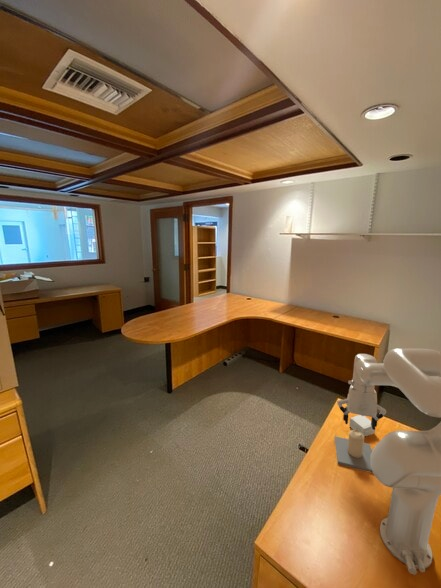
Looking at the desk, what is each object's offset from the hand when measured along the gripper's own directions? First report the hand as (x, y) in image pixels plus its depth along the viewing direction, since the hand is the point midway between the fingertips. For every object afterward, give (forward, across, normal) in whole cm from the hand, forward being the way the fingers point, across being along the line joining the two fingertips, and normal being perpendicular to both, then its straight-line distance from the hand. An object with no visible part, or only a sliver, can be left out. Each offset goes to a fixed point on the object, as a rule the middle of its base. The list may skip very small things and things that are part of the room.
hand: (359, 424), depth 101 cm
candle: (+14, 0, +1) cm, 14 cm away
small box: (+15, +5, +18) cm, 24 cm away
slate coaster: (+15, 0, +1) cm, 15 cm away
